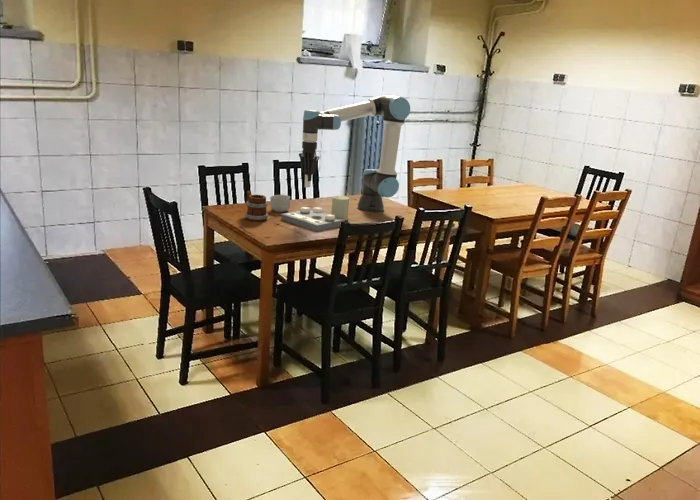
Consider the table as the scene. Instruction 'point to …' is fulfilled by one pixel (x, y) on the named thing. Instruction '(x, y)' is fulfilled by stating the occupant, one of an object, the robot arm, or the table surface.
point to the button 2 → (330, 217)
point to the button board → (311, 220)
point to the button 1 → (305, 210)
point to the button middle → (317, 210)
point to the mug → (256, 208)
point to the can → (340, 207)
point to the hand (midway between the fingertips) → (307, 186)
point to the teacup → (280, 203)
